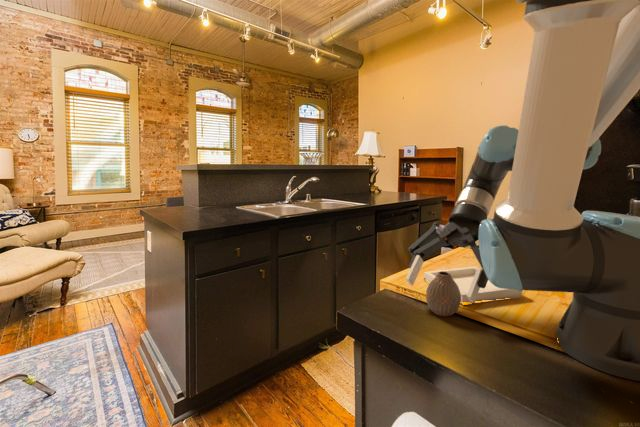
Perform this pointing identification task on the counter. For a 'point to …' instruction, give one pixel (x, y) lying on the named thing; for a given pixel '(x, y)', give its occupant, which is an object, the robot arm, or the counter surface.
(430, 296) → the vase
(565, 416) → the counter surface
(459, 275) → the tray
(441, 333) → the counter surface
